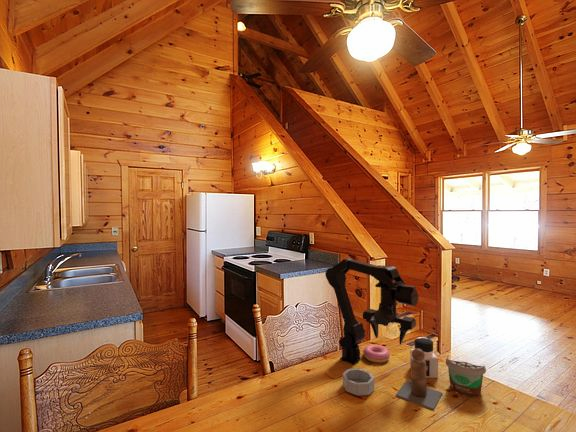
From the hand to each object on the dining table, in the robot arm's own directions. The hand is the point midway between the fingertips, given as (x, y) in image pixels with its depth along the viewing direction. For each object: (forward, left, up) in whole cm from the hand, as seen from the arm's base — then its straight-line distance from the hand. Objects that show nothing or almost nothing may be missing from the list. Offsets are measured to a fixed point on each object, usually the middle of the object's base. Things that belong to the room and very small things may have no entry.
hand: (388, 340), depth 118 cm
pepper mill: (+13, -6, -12) cm, 19 cm away
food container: (+25, +5, -13) cm, 29 cm away
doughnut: (-9, +10, -13) cm, 19 cm away
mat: (+13, -6, -13) cm, 19 cm away
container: (+10, +10, -13) cm, 19 cm away
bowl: (-5, -15, -13) cm, 20 cm away
